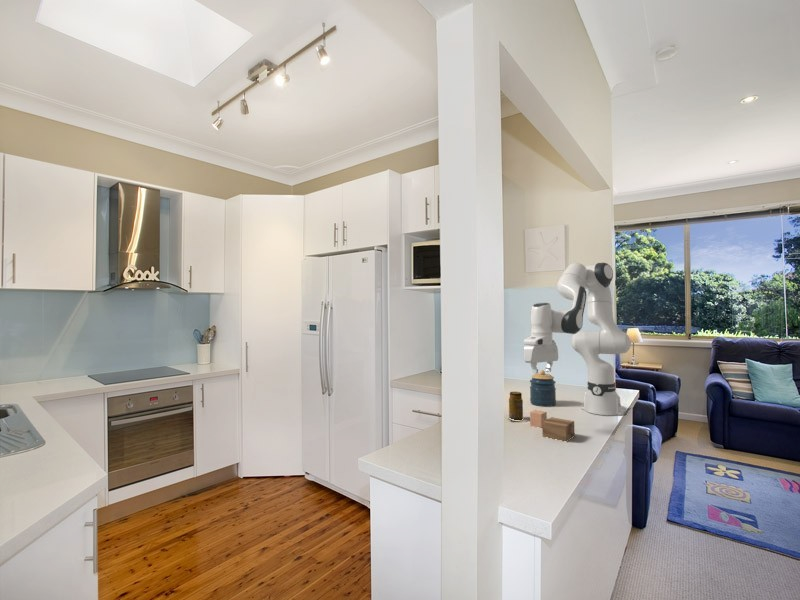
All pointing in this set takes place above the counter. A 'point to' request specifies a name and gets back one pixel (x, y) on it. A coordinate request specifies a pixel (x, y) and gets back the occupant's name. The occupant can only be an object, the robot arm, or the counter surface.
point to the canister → (542, 390)
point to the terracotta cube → (537, 418)
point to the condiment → (516, 406)
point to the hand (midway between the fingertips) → (542, 372)
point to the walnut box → (558, 429)
